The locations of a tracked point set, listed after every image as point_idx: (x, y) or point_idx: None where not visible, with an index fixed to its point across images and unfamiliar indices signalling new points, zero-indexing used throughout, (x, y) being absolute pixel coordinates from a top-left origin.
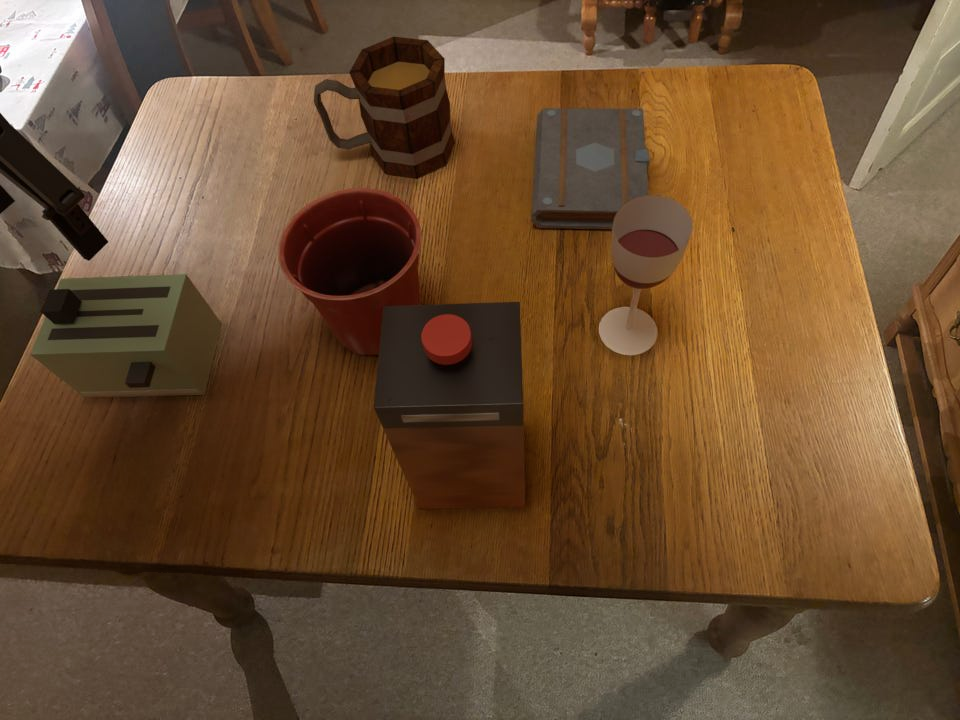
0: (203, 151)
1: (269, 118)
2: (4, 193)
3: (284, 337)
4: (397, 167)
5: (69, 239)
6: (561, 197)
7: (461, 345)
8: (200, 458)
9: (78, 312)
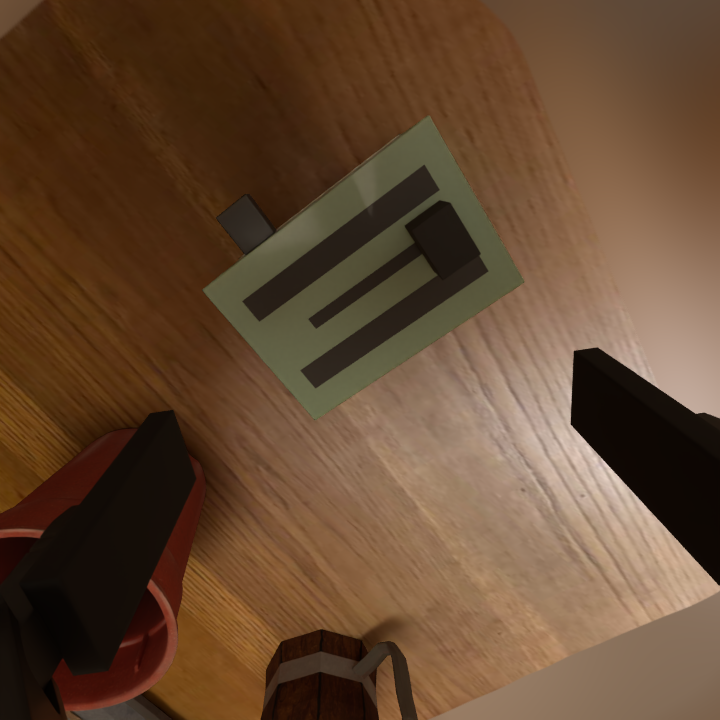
0: (585, 542)
1: (536, 619)
2: (591, 438)
3: (224, 393)
4: (303, 649)
5: (108, 471)
6: (70, 717)
7: None
8: (149, 175)
9: None
